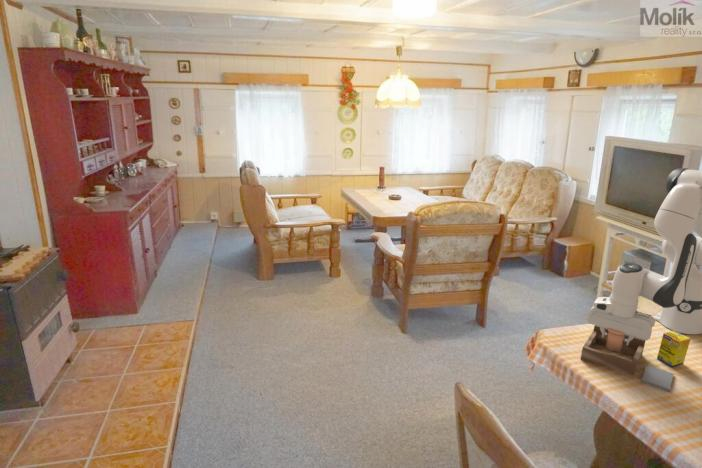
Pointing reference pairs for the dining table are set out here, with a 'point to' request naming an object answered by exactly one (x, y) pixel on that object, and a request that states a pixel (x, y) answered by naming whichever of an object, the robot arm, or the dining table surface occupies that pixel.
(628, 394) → the dining table surface
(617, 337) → the peach drawer knob
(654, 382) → the slate mat
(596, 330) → the frame
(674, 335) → the supplement box
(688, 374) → the dining table surface
